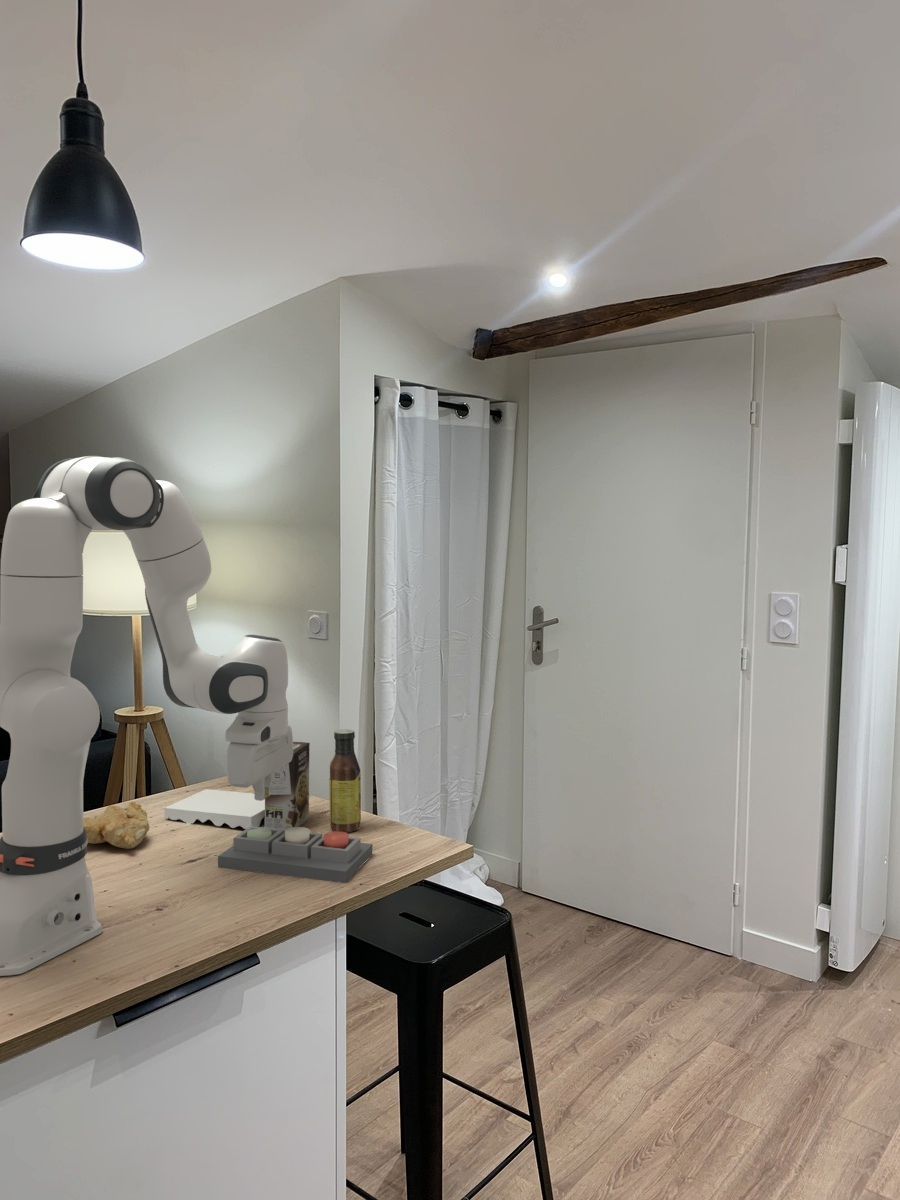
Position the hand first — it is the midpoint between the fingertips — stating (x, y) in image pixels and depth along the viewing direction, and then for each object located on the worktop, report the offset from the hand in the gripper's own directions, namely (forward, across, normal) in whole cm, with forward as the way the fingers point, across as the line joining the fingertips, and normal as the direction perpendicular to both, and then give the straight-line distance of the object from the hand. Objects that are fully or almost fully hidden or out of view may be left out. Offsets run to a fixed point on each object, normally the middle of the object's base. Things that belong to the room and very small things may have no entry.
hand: (262, 798), depth 168 cm
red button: (+7, 0, +14) cm, 16 cm away
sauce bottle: (+11, -19, +9) cm, 24 cm away
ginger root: (+11, +2, -29) cm, 31 cm away
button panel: (+11, 0, +7) cm, 13 cm away
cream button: (+8, 0, +7) cm, 10 cm away
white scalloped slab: (+12, -20, -17) cm, 28 cm away
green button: (+9, 0, -1) cm, 9 cm away
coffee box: (+11, -18, -3) cm, 21 cm away
